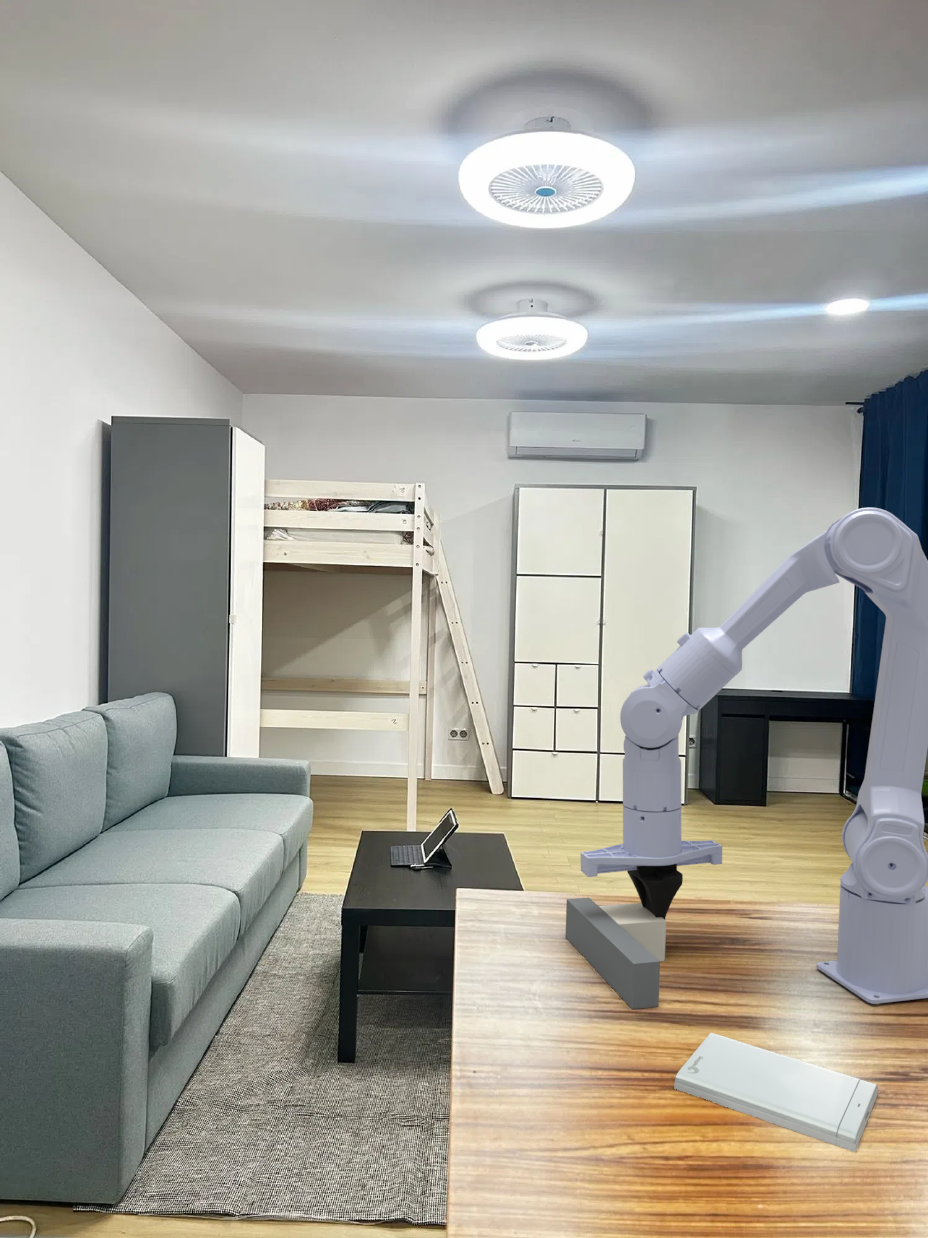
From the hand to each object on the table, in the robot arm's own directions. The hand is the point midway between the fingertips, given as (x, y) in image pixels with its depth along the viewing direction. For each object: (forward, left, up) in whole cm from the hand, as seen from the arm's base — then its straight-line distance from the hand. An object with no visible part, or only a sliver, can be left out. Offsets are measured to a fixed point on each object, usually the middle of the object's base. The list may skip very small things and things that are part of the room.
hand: (652, 939), depth 91 cm
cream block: (+2, 0, -1) cm, 3 cm away
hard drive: (+2, +25, -2) cm, 25 cm away
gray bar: (+6, +3, -1) cm, 7 cm away
